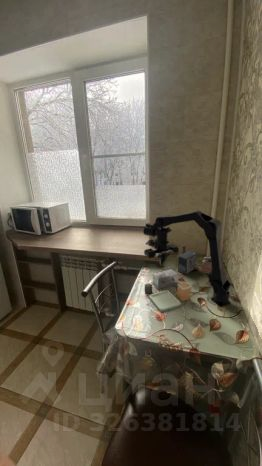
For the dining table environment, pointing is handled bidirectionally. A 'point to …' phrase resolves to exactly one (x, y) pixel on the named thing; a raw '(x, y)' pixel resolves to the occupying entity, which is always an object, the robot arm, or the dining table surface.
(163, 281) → the box
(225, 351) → the dining table surface
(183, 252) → the industrial component
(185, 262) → the small box
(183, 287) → the square block
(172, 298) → the tray
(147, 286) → the dark rounded cylinder
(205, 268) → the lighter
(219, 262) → the robot arm
